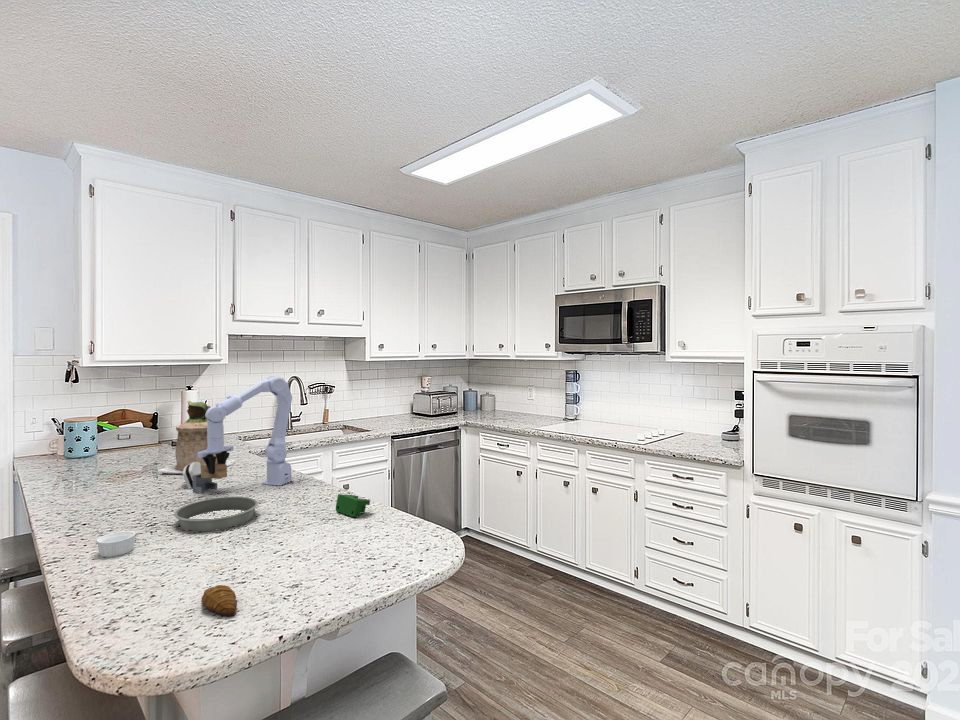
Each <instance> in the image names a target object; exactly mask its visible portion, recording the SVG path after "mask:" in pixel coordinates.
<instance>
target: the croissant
mask: <svg viewBox="0 0 960 720" xmlns="http://www.w3.org/2000/svg"><path fill="white" fill-rule="evenodd" d="M236 598H237V596H236V593H235V591H234V590H233V589H232V588H231V587H230V586H229V585H225V584H224V585H222V584H218V585H215V586H212V587H208V588H207V589H205V590H204V592H203V595H202V596H201V598H200V599H201V601H200V602H201V604H202V605H203V606H204V607H205V608H206V609H207V610H208V611H210V612H212V611H213V612H212V613H215V612H216V613H215V614H216V615H219V614H220V615H219V616H222V615H224V616H223V617H232V616H234V615H236V611H237V608H238V607H237V605H238V600H237V599H236Z"/></svg>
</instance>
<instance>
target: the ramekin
mask: <svg viewBox="0 0 960 720" xmlns="http://www.w3.org/2000/svg"><path fill="white" fill-rule="evenodd" d="M135 538H136V532H135V531H131V530H125V531H122V530H121V531H117V532H112V533H111V532H110V533H108V534H104V535H101V536H100V537H98V538H97V539H96V544H97V547H98V548H97V549H98V554H99V556H100V557H102V556H103V558H111V557H110V556H113V557H118V556H117V555H119V556H122V554H123V555H125V553H126V554H127V553H130V552H132V551H133V550H134V548H135ZM131 550H132V551H131Z"/></svg>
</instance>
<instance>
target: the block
mask: <svg viewBox="0 0 960 720" xmlns="http://www.w3.org/2000/svg"><path fill="white" fill-rule="evenodd" d="M227 477H228V466H227V465H226V464H215V473H214V474H209V471H208V468H207V465H206V464H202V465H201V478H212V480H213V479H216V480H221V479H224V478H227Z"/></svg>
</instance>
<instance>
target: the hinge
mask: <svg viewBox="0 0 960 720" xmlns="http://www.w3.org/2000/svg"><path fill="white" fill-rule="evenodd" d="M197 474H201V464H200V462H193V463H191V464H188V465H187V466H185V467H184V469H183V473H182V475H183V476H182V477H183V478H184V482H185V484H186V486H187V489H188V490H192V489H193V479H192V476H194V475H197Z"/></svg>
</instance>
